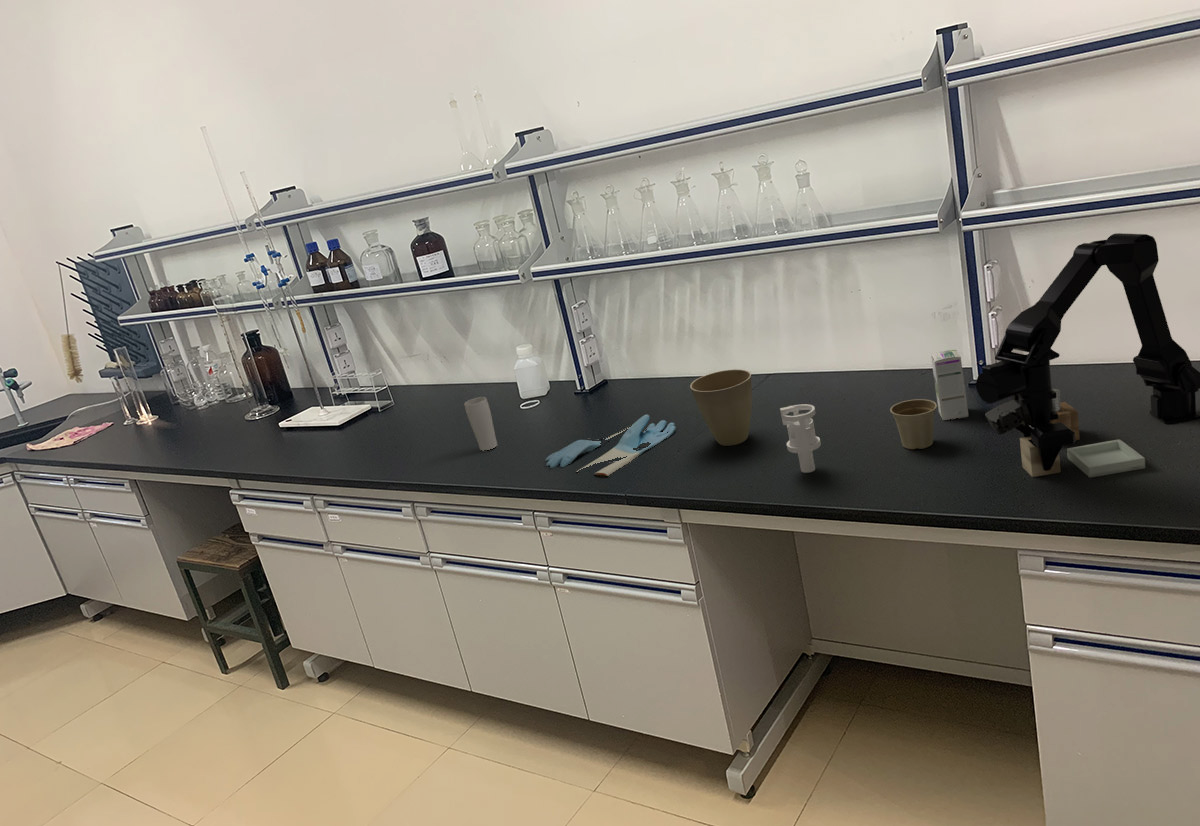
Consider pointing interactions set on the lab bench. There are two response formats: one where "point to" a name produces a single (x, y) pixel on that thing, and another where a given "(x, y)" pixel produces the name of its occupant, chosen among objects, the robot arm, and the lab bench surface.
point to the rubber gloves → (622, 449)
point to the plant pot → (725, 404)
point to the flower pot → (915, 422)
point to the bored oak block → (1068, 418)
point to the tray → (1105, 458)
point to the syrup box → (949, 385)
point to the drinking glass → (481, 422)
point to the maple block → (1035, 459)
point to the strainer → (801, 434)
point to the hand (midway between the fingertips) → (1040, 464)
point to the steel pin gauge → (1057, 401)
